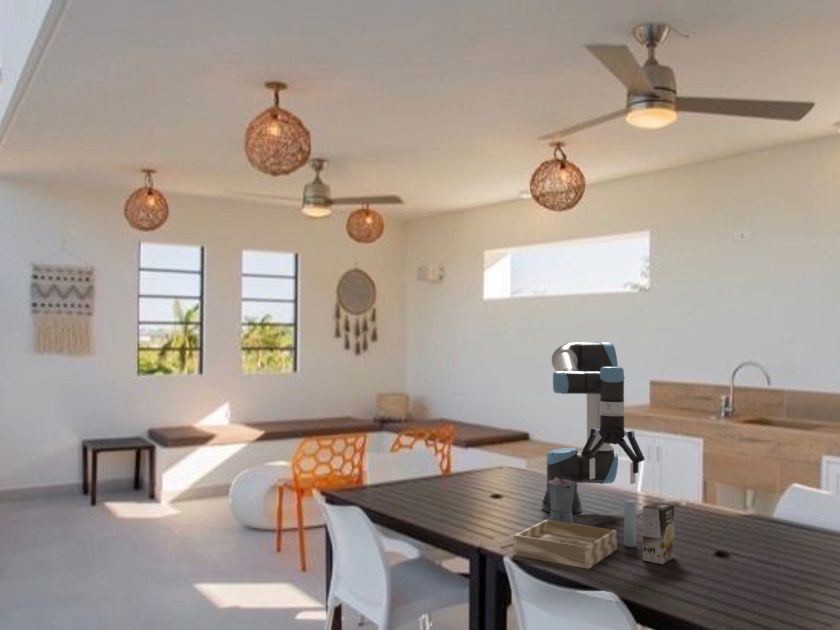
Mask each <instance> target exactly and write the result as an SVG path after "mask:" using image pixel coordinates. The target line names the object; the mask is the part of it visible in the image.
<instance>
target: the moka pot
mask: <svg viewBox="0 0 840 630" xmlns="http://www.w3.org/2000/svg"><path fill="white" fill-rule="evenodd" d="M559 476H560V479H559V478H556V477H555V476H553V479H552V480H550V481H549V482H548V486H549V496H550V504H551V511H550V512H549V519H548V520H552V521H559V522H566V523H572V524H574V518H573V517H574V516H573V514H572V511H571V510H572V505H573V497H574V489H575V482H574V481H570V480H566V479H563V478H564V475H563V474H560V475H559Z"/></svg>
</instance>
